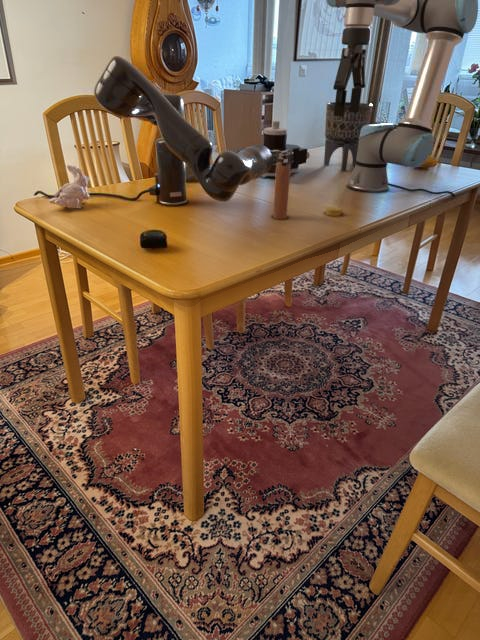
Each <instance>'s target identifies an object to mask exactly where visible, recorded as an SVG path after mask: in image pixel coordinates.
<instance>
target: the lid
mask: <svg viewBox="0 0 480 640" xmlns="http://www.w3.org/2000/svg"><path fill="white" fill-rule="evenodd" d="M342 211H343V208H341V207H340V206H335V205H330V206H326V211H325V214H326V215H327V216H331V217H339V216H341V215H342Z"/></svg>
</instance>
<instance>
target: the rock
mask: <svg viewBox="0 0 480 640" xmlns="http://www.w3.org/2000/svg"><path fill="white" fill-rule="evenodd" d="M185 175H186V183H191V182H199V181H198V180H197V178H196V177H195V175H194V174H193V172H192V171H191V169H190V168H189V167H188V165H187V164H185Z"/></svg>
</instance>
